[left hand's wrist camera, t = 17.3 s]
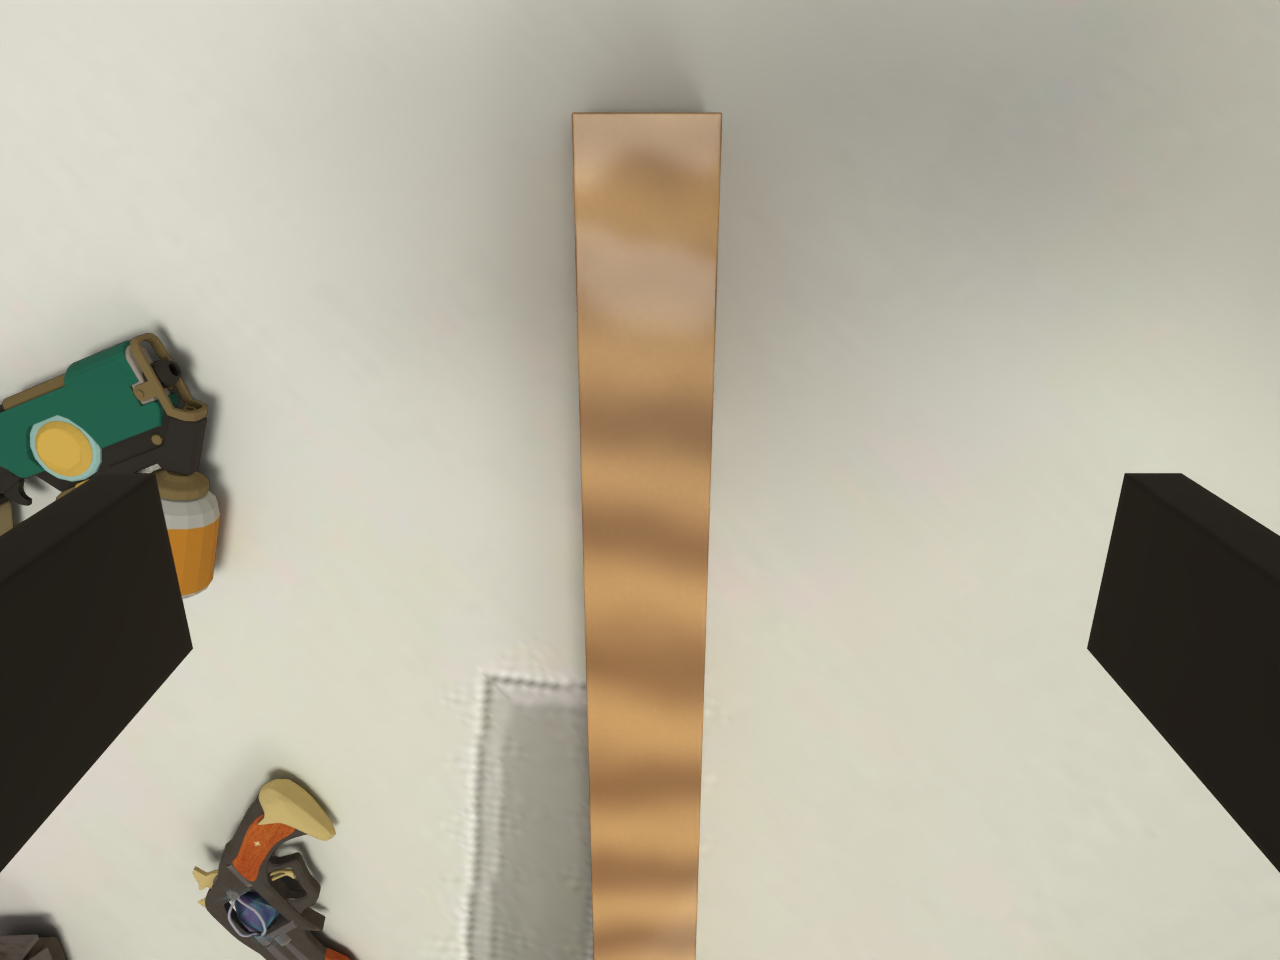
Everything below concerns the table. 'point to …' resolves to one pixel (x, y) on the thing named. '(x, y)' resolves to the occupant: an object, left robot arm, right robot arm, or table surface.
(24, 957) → the toy
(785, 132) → the table surface
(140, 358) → the spray gun
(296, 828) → the toy gun
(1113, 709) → the table surface
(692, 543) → the post
